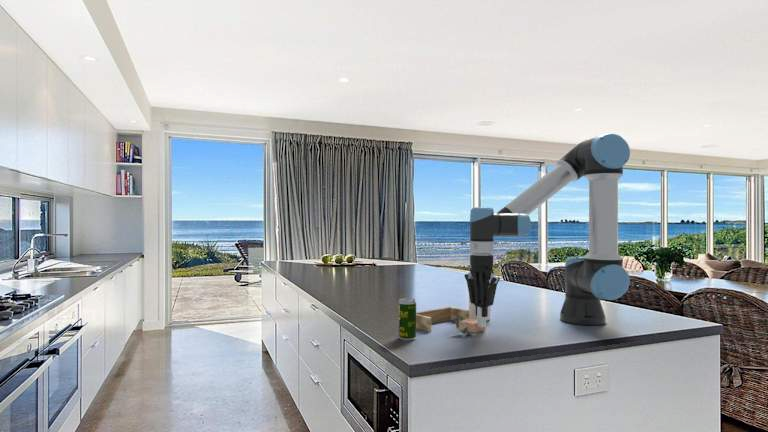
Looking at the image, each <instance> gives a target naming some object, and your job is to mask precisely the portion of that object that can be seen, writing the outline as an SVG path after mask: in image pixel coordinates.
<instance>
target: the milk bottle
mask: <svg viewBox="0 0 768 432" xmlns="http://www.w3.org/2000/svg"><path fill="white" fill-rule="evenodd" d="M473 279H474V278H473ZM468 310H469V311H470V318H473V319H477V316H476V306H475V305H474V304H473V303H471V302H470V297H469V296H468ZM490 320H491V306H488V316H487V317H486V322H488V321H490Z"/></svg>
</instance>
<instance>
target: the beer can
mask: <svg viewBox="0 0 768 432" xmlns="http://www.w3.org/2000/svg"><path fill="white" fill-rule="evenodd" d="M416 312H417V301H416V298H412V297H411V298H410V297H406V298H405V297H403V298H399V302H398V338H399V340H401V341H405V342H406V341H408V342H409V341H414V340H415V341H416V338H417V329H416Z"/></svg>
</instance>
